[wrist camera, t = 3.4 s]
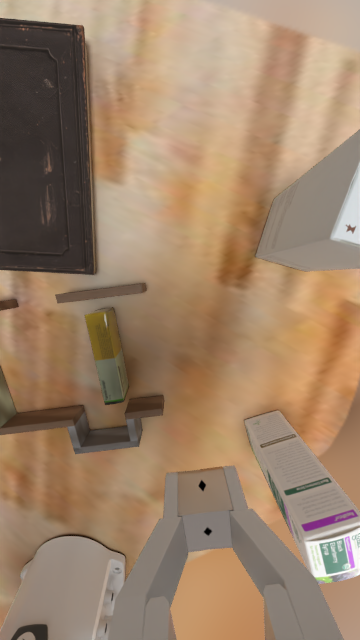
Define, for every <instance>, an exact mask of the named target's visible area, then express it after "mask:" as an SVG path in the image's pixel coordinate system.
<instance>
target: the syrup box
mask: <svg viewBox="0 0 360 640" xmlns="http://www.w3.org/2000/svg"><path fill="white" fill-rule="evenodd" d="M244 422H245V426H246V430H247V434H248V438H249V441H250V444H251V447H252V450H253V452H254V454H255V457H256V459H257V461H258V463H259V465H260V467H261V470H262V472H263V474H264V476H265V478H266V480H267V483H268V485H269V487H270V489H271V491H272V493H273V496H274V498H275V500H276V502H277V504H278V506H279V509H280V511H281V513H282V515H283V517H284V519H285V521H286V524H287V526H288V528H289V530H290V532H291V534H292V536H293V538H294V541H295V543H296V545H297V547H298V549H299V551H300V554H301V556H302V558H303V560H304V562H305V564H306V567H307V569H308V571H309V572H310V573H311V574H312V575H313V576H314V577H315V578H316V580H317V582H318V584H319V583H330V582H337V581H341V580H346V579H349V578H352V577H355V576H358V575H360V511H359V510H358V509H357V507H356V506H355V505H354V504H353V502H352V501H351V500H350V499H349V497H348V496H347V495H346V493H345V492H344V491H343V490H342V489H341V487H340V486H339V485H338V484H337V482H336V481H335V480H334V479H333V478H332V476H331V475H330V473H329V472H328V471H327V470H326V468H325V467H324V466H323V465H322V463H321V462H320V461H319V460H318V458H317V457H316V456H315V454H314V453H313V452H312V451H311V449H310V448H309V447H308V446H307V445H306V443H305V442H304V441H303V440H302V438H301V437H300V436H299V435H298V433H297V432H296V431H295V430H294V428H293V427H292V426H291V425H290V423H289V422H288V421H287V420H286V418H285V417H284V416H283V415H282V413H281V412H280V411H279V410H277V411H273V412H269V413H265V414H262V415H259V416H256V417H252V418H249V419H246V420H244Z"/></svg>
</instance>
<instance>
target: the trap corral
mask: <svg viewBox="0 0 360 640" xmlns="http://www.w3.org/2000/svg"><path fill="white" fill-rule="evenodd" d="M145 291H146V285H145V283H142V284H134V285H126V286H118V287H110V288H103V289H95V290H87V291H79V292H71V293H64V294H57V295H55V296H56V299H57V303H65V302H73V301H80V300H88V299H96V298H104V297H112V296H120V295H128V294H136V293H143V292H145ZM16 307H18V304H17V301H16V300H8V301H0V310H5V309H11V308H16ZM163 408H164V397H163V395H162V396H154V397H146V398H138V399H130V400H129V403H128V406H127V408H126V411H125V417H126V422H127V426H125V427H117V428H109V429H100V430H92V431H90V429H89V425H88V422H87V418H86V414H85V410H84V406H83V405H81V406H73V407H64V408H56V409H48V410H40V411H32V412H24V413H17V412H16V409H15V407H14V404H13V401H12V398H11V395H10V392H9V390H8V387H7V384H6V381H5V378H4V375H3V373H2V370H1V367H0V435H5V434H13V433H21V432H29V431H37V430H46V429H54V428H62V427H67V428H68V431H69V434H70V438H71V441H72V445H73V448H74V452H75V454H81V453H89V452H97V451H106V450H114V449H122V448H130V447H139V444H140V440H141V435H142V424H141V419H140V418H144V417H152V416H160V415H163Z"/></svg>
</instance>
